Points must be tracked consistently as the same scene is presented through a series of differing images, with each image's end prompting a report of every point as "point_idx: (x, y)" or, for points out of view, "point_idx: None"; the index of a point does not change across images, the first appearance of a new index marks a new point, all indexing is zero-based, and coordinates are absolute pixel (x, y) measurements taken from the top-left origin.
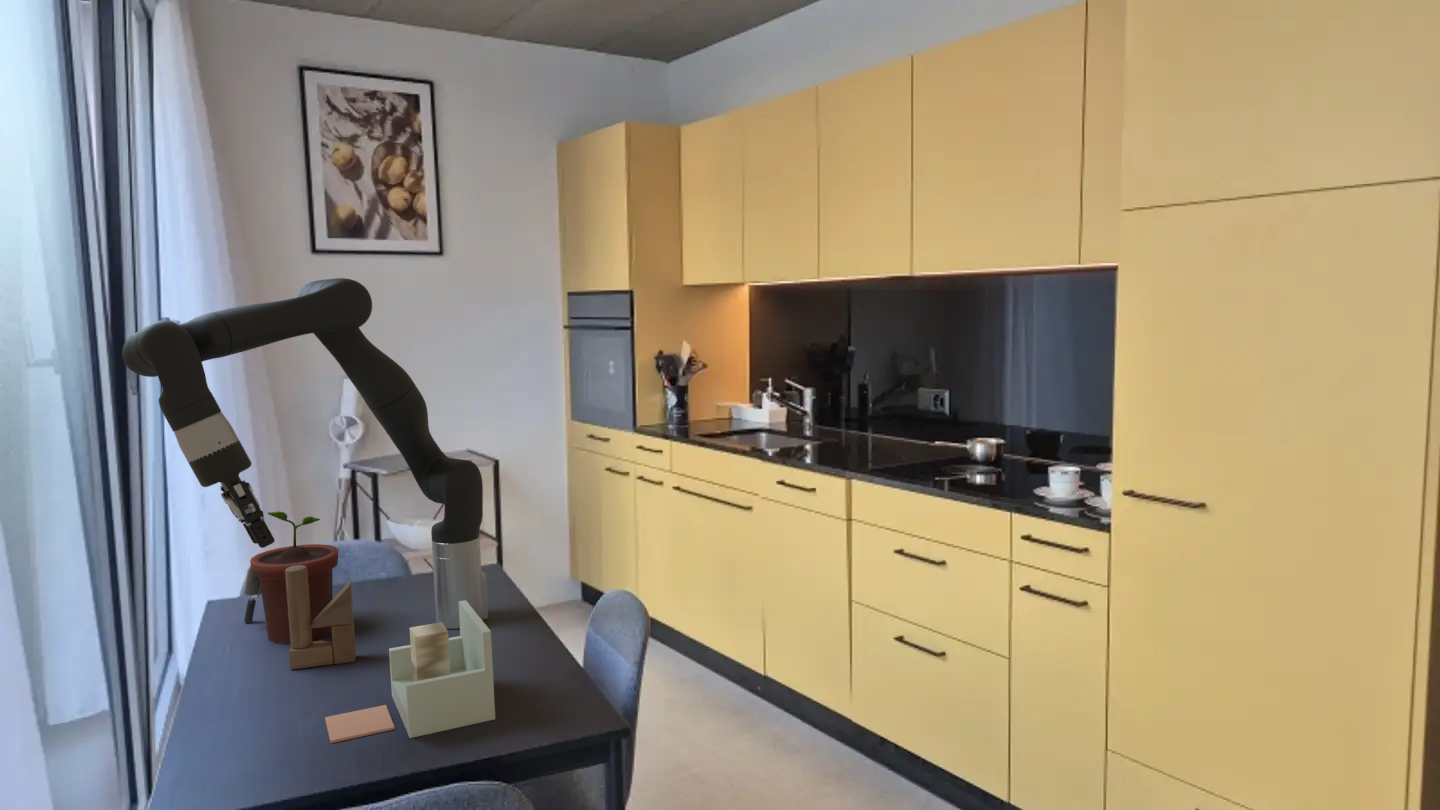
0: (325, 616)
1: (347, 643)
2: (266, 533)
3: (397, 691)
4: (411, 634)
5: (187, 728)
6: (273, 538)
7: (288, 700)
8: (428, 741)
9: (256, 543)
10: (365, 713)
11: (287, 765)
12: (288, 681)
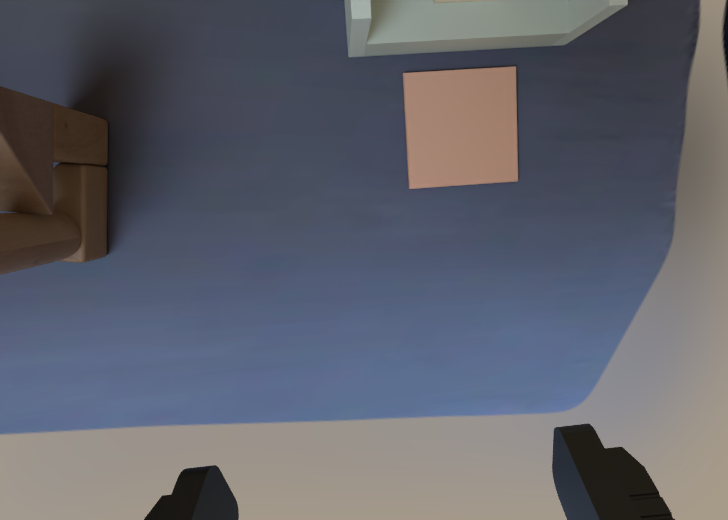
0: (34, 172)
1: (83, 127)
2: (665, 508)
3: (435, 38)
4: None
5: (335, 412)
6: (595, 438)
7: (280, 255)
8: None
9: (235, 504)
10: (427, 114)
11: (564, 248)
12: (173, 258)
